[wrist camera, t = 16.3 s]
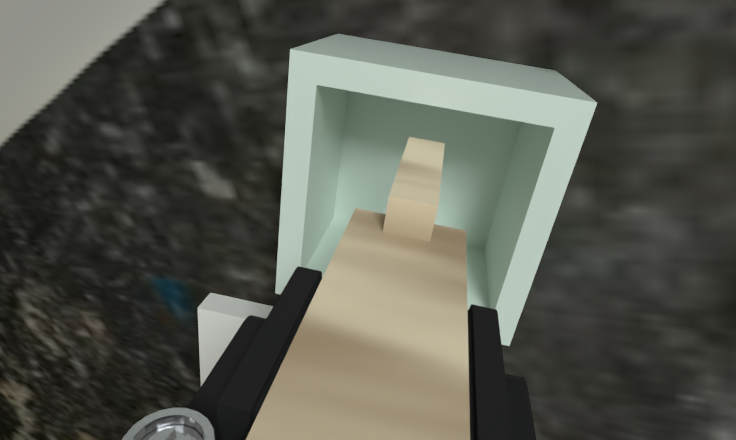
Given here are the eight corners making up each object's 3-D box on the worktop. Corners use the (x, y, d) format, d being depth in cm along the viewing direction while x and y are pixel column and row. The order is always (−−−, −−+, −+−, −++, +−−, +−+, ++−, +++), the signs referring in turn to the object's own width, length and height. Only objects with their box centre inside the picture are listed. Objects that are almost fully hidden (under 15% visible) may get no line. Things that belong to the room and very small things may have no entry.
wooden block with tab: (440, 272, 18) (392, 925, 5) (363, 256, 18) (152, 842, 6) (472, 148, 15) (515, 796, 3) (382, 131, 16) (97, 665, 3)
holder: (496, 259, 25) (509, 345, 19) (318, 222, 26) (275, 293, 20) (555, 70, 21) (597, 102, 15) (338, 33, 22) (290, 49, 16)
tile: (343, 435, 31) (201, 401, 32) (350, 411, 33) (215, 379, 34) (357, 343, 27) (197, 307, 28) (364, 321, 29) (213, 288, 30)
